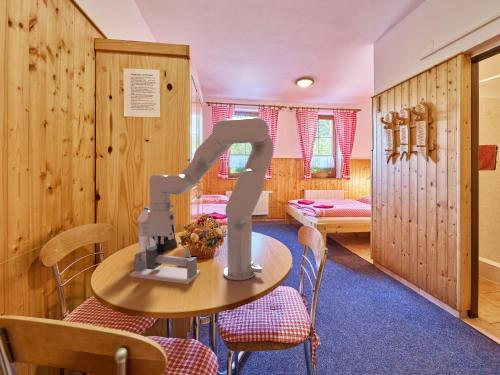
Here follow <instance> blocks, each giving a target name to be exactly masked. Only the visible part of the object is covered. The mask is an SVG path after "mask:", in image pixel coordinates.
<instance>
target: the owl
mask: <svg viewBox="0 0 500 375" xmlns="http://www.w3.org/2000/svg"><path fill="white" fill-rule="evenodd" d="M175 234H176V233H175ZM175 234H174V238H173V239H170V240H168V241H167V242H166V252H168V251H170V250H174V249H175V248H178V241H177V239H176V235H175ZM156 245H157V244H156Z"/></svg>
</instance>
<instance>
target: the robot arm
mask: <svg viewBox="0 0 500 375" xmlns="http://www.w3.org/2000/svg"><path fill="white" fill-rule="evenodd" d="M269 133H270V128H269V125H268V123H267V122H266V121H265V120H264V119H262V118H260V117H243V118H231V119H230V118H229V119H221V120H219V121H217V122H216V123H215V124H214V125H213V127H212V131H211V133H210V134H209V136H208V137H207V138H206V139H205V140H204V141H203V142H202V143H201V144H200V145H199V146H198V147H197V148H196V150H195V152H194V155H193V159H191V162H190V163H189V164H188V165H187V167H185V169H184V170H182V172H180V173H179V174H178V173H177V174H174V175H167V174H152V175H151V176H149V181H148V182H149V209H148V211H149V213H148V221H147V232H148V234H149V237H150V238H153V239H154V240H155V243H156V244H157V254H162V255H163V254H164V253H166V252H167V251H166V242H167V241H168V240H170V239H173V238H174V234H176V218H175V214H174V210H173V208H174V204H172V202H171V198H172V197H171V195H183V194H184V193H187V192H189V191H191V190H192V188H193V187H195V186H196V185H197V183H199V181H201V180H202V178H203V177H204V176H205V175H206V174H207V173H208V172H209V170H210V169H212V167H213V166H214V165H215V164H216V163H217V162H218V161H219V160H220V158H221V157H222V156H223V155H224V154H225V153H226V152H227V151H228V150H229V149H230V148H231V147H232V146H233V145H235V144H250V147H251V151H250V154H249V156H248V158H247V161H246V163H245V165H244V168H243V170H242V171H241V173H240V174H239V175H238V178H237V180H236V182H235V185H234V187H233V189H232V192H231V195H230V196H229V198H228V201H227V203H226V205H225V211H224V212H225V216H226V218H227V219H226V220H227V224H226V227H227V228H226V230H227V232H226V233H227V237H226V238H227V240H226V241H227V245H226V246H227V250H226V252H227V256H226V257H227V267H225V268H224V270H223V276H224V277H225V278H226V279H229V280H230V281H231V280H232V281H247V280H249V278H250V279H252V278H254V277H255V275H256V273H257V274H262V272H263V268H262V267H261V265H255V264H254V261H253V260H252V246H253V244H252V238H253V237H252V235H253V234H252V232H253V231H252V228H253V227H252V218H253V217H252V215H253V213H254V210H255V209H256V207H257V204H258V202H259V199H260V197H261V196H262V192H263V190H264V187H265V178H266V177H265V176H266V174H267V172H268V169H269V167H270V164H271V161H272V159H273V155H274V144H273V139H272V137H271V136H270V134H269ZM253 276H254V277H253ZM251 277H252V278H251ZM246 279H247V280H246Z"/></svg>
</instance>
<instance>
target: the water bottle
mask: <svg viewBox="0 0 500 375" xmlns="http://www.w3.org/2000/svg"><path fill="white" fill-rule="evenodd" d="M149 210H150V206H144V207H143V211H142V212H141V213H140V214H139V215H138V217H137V222H138V250H139V251H138V253H140V252H145V254H146V250H147V249H149V248H151V247H153V246H155V245H156V243H155V240H154V239H153V238H150V237H149V234H148V232H147V221H148V213H149Z"/></svg>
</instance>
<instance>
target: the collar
mask: <svg viewBox="0 0 500 375" xmlns="http://www.w3.org/2000/svg"><path fill="white" fill-rule="evenodd" d="M156 255H162V256H163V254H157V245H155V246H153V247H151V248H149V249H147V250H146V269H151V270H154V269H155V268H157V267H158V266H162V263H155V256H156Z"/></svg>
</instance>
